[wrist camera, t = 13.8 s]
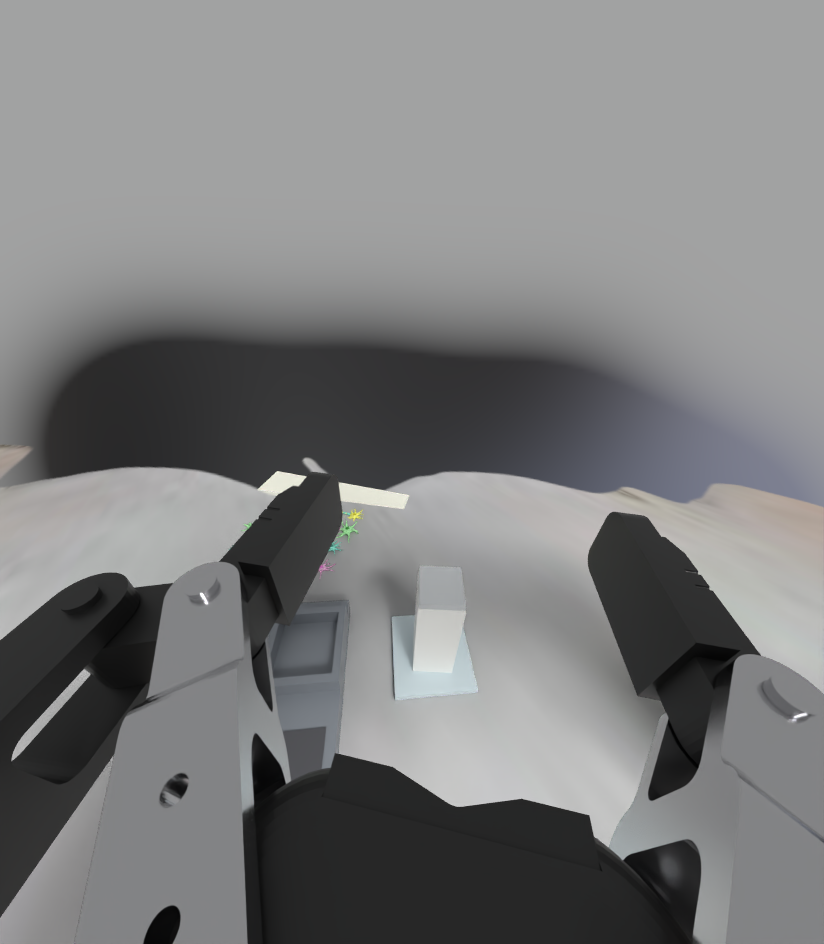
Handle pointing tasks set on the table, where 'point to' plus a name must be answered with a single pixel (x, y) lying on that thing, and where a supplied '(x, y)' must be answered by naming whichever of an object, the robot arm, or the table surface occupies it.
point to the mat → (427, 682)
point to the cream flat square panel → (347, 494)
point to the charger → (438, 618)
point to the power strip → (311, 682)
